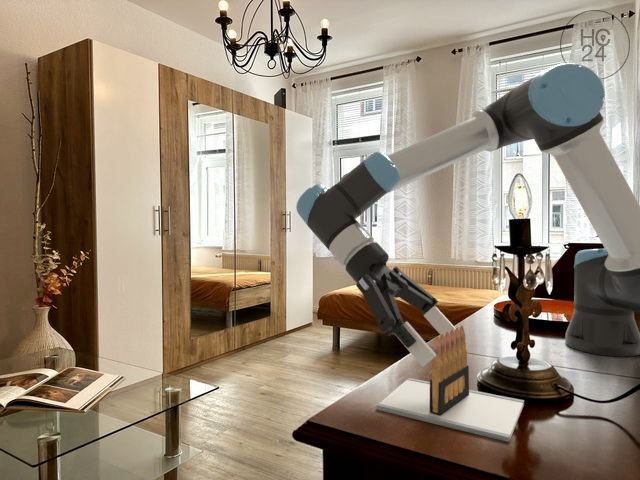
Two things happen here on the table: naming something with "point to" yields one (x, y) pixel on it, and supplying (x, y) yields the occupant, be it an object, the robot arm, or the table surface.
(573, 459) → the table surface
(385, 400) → the white flat rectangular board
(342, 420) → the table surface
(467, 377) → the ammunition clip
